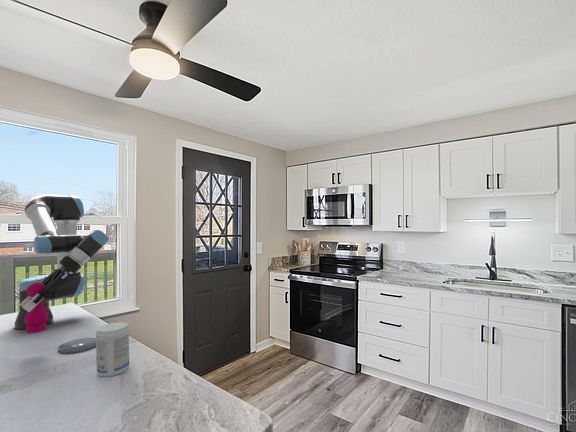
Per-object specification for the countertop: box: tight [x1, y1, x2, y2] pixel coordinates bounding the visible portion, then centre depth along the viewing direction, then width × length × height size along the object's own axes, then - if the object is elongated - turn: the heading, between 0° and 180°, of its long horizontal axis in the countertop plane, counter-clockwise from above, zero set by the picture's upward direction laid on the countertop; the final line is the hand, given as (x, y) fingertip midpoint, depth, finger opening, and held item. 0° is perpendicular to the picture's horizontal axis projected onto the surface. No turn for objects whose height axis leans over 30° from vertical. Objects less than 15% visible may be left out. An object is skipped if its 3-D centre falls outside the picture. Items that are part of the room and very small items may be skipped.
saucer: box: [57, 337, 96, 355], centre depth 127 cm, size 14×14×1 cm
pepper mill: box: [24, 279, 48, 334], centre depth 123 cm, size 7×7×20 cm
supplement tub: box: [95, 321, 130, 378], centre depth 105 cm, size 10×10×15 cm
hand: (24, 308), depth 120 cm, fingers closed on pepper mill, 6 cm apart
